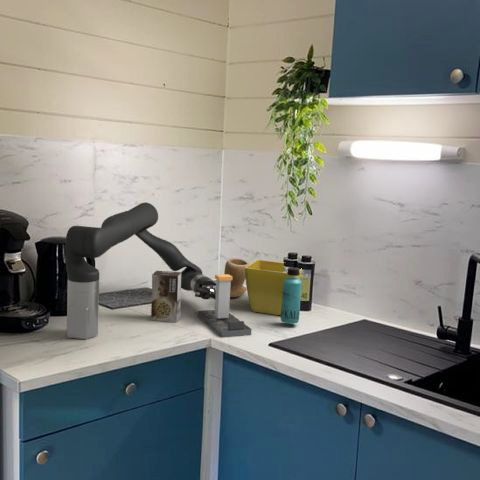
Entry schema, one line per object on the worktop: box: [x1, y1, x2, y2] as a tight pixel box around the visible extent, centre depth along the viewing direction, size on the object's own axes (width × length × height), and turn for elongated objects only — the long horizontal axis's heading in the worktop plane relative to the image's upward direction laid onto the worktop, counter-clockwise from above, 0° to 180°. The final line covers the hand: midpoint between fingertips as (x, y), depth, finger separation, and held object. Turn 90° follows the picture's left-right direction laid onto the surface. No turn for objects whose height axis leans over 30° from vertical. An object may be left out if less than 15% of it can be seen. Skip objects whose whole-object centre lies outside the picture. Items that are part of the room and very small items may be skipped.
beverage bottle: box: [280, 268, 303, 325], centre depth 205 cm, size 6×7×20 cm
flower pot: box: [245, 259, 302, 316], centre depth 224 cm, size 19×19×17 cm
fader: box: [214, 273, 233, 318], centre depth 202 cm, size 4×5×14 cm
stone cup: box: [223, 257, 250, 298], centre depth 244 cm, size 15×12×15 cm
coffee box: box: [150, 270, 182, 323], centre depth 204 cm, size 9×6×16 cm
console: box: [196, 309, 252, 338], centre depth 202 cm, size 24×10×4 cm, turn 23°
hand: (220, 298), depth 204 cm, fingers closed
